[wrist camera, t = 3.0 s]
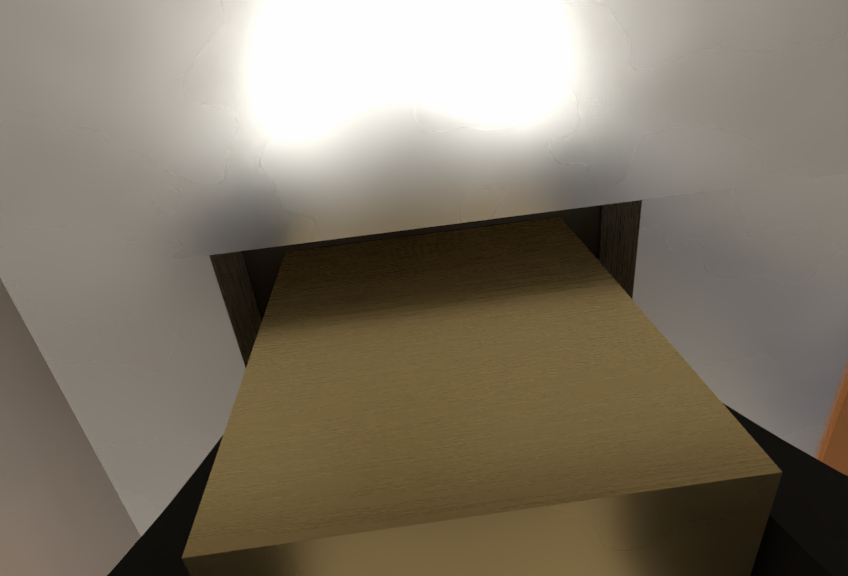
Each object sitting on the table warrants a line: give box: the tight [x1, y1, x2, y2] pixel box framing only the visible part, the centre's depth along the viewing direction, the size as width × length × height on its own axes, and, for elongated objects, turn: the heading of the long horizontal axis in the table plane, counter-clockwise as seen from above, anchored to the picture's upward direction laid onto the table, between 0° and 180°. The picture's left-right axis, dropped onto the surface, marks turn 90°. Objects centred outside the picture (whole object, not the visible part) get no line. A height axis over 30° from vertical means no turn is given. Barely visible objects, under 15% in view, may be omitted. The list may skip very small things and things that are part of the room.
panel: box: [0, 0, 848, 537], centre depth 10 cm, size 24×14×2 cm, turn 95°
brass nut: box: [182, 217, 782, 576], centre depth 8 cm, size 5×5×6 cm
